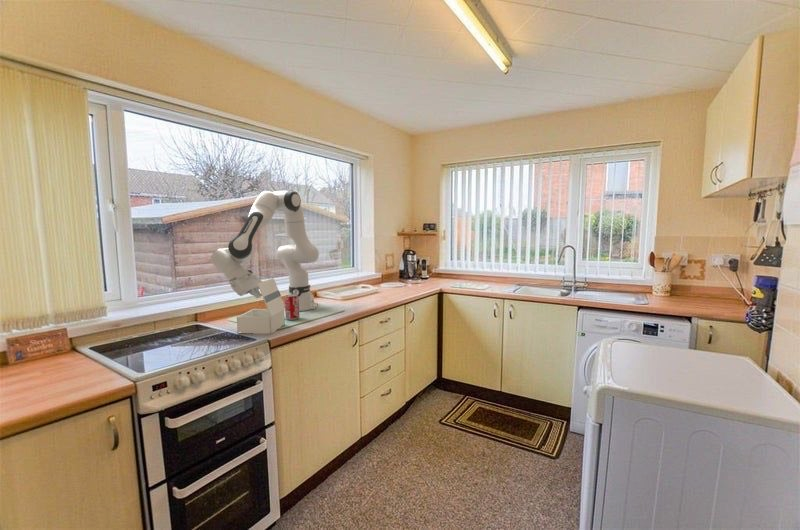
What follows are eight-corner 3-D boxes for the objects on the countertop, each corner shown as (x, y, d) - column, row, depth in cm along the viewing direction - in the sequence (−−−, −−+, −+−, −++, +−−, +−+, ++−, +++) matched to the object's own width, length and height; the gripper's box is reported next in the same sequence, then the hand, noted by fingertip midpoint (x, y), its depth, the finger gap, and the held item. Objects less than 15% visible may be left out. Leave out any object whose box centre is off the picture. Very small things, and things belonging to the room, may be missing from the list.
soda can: (295, 320, 183) (294, 296, 181) (283, 320, 184) (281, 296, 183) (301, 317, 190) (300, 294, 188) (289, 316, 191) (288, 293, 190)
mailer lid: (272, 278, 174) (273, 278, 174) (284, 308, 175) (285, 307, 175) (257, 283, 158) (258, 283, 158) (270, 316, 159) (272, 315, 159)
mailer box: (254, 324, 177) (253, 308, 176) (284, 324, 176) (283, 309, 175) (237, 333, 161) (236, 316, 160) (271, 334, 160) (270, 317, 159)
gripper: (231, 275, 156) (253, 296, 156) (253, 269, 176) (273, 288, 176) (222, 285, 156) (244, 306, 157) (245, 278, 177) (265, 297, 177)
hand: (260, 296), depth 167 cm, fingers closed
